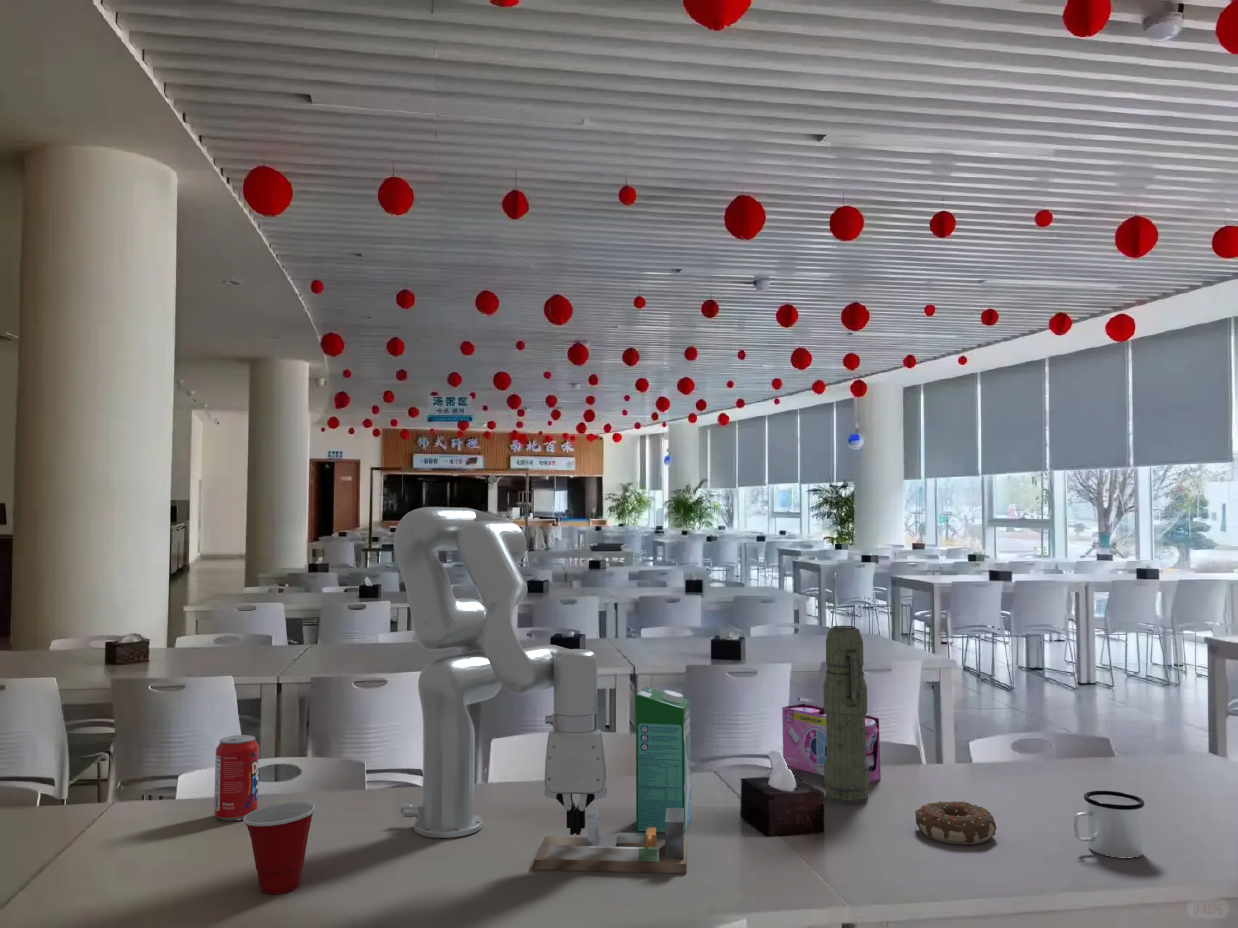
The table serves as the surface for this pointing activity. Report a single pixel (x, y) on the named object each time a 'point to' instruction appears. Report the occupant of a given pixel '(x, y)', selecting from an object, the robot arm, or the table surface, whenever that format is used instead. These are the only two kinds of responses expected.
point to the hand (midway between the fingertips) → (575, 832)
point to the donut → (956, 822)
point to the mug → (1113, 823)
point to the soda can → (236, 777)
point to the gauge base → (619, 852)
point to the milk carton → (662, 757)
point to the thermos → (845, 717)
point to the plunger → (608, 839)
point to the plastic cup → (279, 844)
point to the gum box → (821, 740)
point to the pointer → (651, 837)
